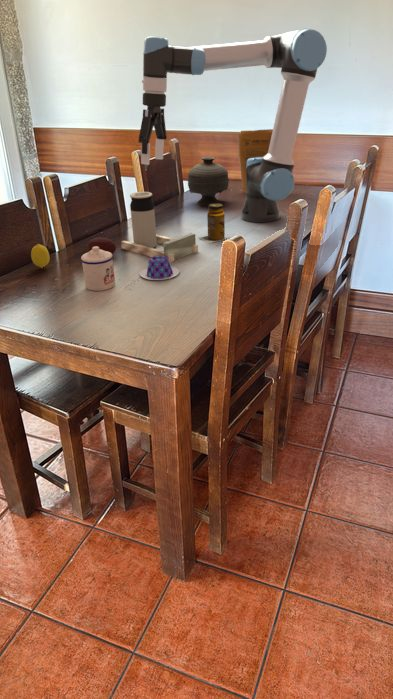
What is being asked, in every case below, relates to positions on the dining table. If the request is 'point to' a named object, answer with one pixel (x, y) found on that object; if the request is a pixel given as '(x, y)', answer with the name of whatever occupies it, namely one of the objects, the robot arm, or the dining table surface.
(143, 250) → the rail channel
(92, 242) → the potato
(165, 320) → the dining table surface
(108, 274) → the teacup with lid
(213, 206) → the condiment
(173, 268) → the pudding
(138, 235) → the travel mug
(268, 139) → the pancake mix bag
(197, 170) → the pot
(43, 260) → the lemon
